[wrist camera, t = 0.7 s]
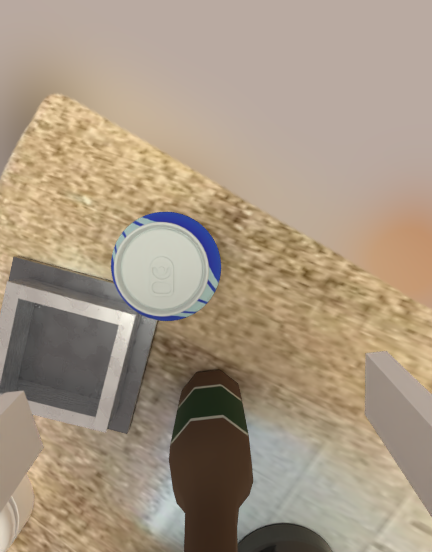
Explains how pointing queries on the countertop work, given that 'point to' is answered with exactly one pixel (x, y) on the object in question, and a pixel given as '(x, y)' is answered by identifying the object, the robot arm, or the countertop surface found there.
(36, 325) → the silver square tray
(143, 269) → the beer can
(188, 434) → the beer bottle
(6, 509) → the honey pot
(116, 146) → the countertop surface
